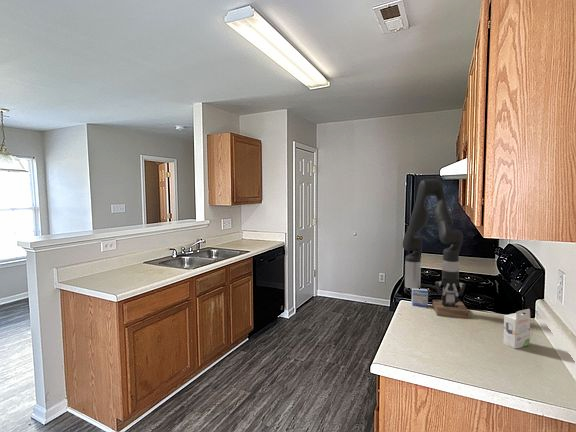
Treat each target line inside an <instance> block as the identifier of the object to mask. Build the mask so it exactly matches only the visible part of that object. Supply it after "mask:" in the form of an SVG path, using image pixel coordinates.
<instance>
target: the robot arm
mask: <svg viewBox="0 0 576 432" xmlns="http://www.w3.org/2000/svg"><path fill="white" fill-rule="evenodd" d="M434 196H435V198H436V200H437V203H436V205H435V210H434V217H435V220H436V222H437V226H438V231H439V234H438V235H439V240H440V242H441V243H442V244H444V245H450V246H449V247H447V248H444V249H443V251H442V265H441V267H442V268H441V280H440V281H435V287H436V291H437V293H438V294H439V295H441V300H442V301H443V302H444V303H445V293H446V292H445V291H446V290H447V289H448V290H449V289H451V290H454V291H456V293H455V303H457V302H458V301H459V296H462V295H463V294H464V291H465V288H466V284H465V283H464V282H460V280H459V279H460V276H459V275H460V263H459V260H460V259H459V254H460V250H461V247H462V246H463V241H464V235H463V232H462V231H461V230H459V229H450V228H451V227H453V226H454V221H453V218H452V216H451V214H450V212H449V208H448V203H447V200H446V195H445V191H444V186H443V184H442V182H441V180H439V179H436V178H432V179H429V178H428V179H422V180H421V181H420V182H419V184H418V189H417V193H416V199H415V203H414V206H413V209H412V212H411V216H410V219H409V224H408V226H407V227H408V228H407V229H406V232H405V233H404V236H403V239H402V248H403V250H405V251H413V252H412V253H410V254H407V255H406V256H405V258H404V260H405V261H404V263H405V264H404V288H406V289H408V288H410V289H409V290H412V288H420V289H421V276H422V275H421V270H422V268H421V267H422V265H421V264H422V261H421V260H422V252H423V251H422V250H423V249H422V248H423V240H422V237H421V236H419V235H416V234H418V232H419V231H421V230H422V229H424V227H425V226H426V225H427V222H428V220H429V217H430V212H429V209H428V207H427V205H426V198H428V197H434ZM441 286H443V287H442V290H441ZM458 287H460V288H459V289H457V288H458ZM458 290H459V291H458Z"/></svg>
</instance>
